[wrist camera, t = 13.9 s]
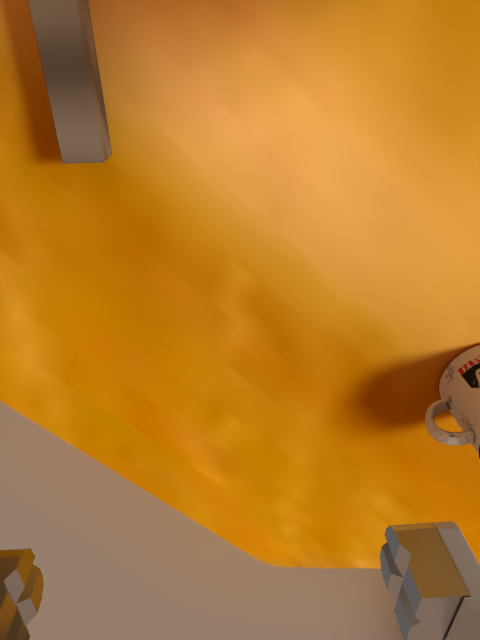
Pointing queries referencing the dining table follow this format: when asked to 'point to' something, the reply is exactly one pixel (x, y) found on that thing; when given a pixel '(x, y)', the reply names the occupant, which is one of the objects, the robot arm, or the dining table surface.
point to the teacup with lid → (459, 400)
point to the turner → (72, 78)
